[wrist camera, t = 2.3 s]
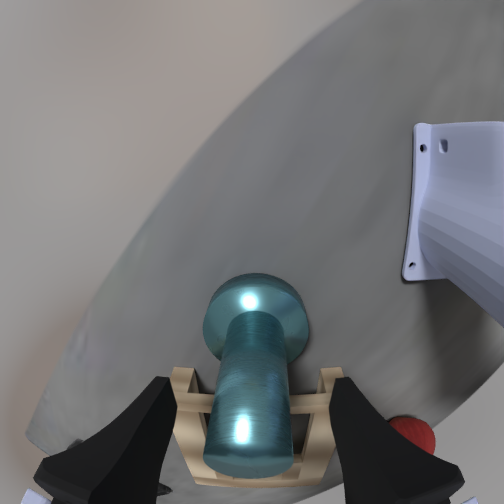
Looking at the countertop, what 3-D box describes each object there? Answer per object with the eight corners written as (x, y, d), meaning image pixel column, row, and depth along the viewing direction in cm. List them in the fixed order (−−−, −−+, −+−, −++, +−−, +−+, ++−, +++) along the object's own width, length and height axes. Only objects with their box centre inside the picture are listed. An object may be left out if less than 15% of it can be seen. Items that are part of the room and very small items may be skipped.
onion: (367, 442, 22) (384, 504, 15) (362, 415, 21) (384, 488, 13) (418, 421, 22) (443, 479, 14) (421, 391, 20) (454, 456, 12)
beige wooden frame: (174, 366, 19) (162, 401, 16) (340, 366, 19) (351, 401, 15) (200, 457, 24) (196, 483, 20) (315, 458, 23) (319, 484, 20)
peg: (203, 273, 16) (143, 407, 7) (307, 272, 16) (349, 411, 7) (213, 353, 18) (182, 483, 9) (302, 353, 18) (319, 487, 9)
